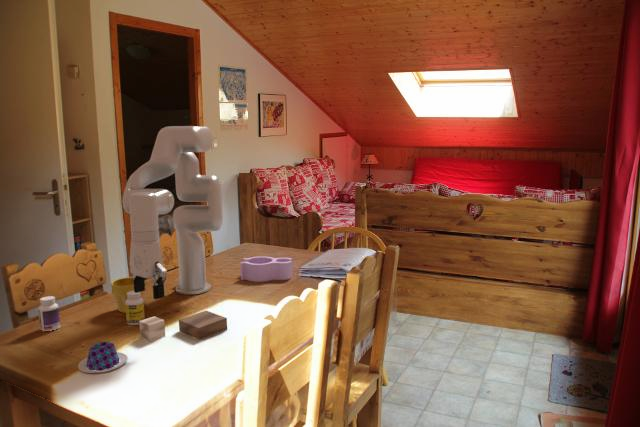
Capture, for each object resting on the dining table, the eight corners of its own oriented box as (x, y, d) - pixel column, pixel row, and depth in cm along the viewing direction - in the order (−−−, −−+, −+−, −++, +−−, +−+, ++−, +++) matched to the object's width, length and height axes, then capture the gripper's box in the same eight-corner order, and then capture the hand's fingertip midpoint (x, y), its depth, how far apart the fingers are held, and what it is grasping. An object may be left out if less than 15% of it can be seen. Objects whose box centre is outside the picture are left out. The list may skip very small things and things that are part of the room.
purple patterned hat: (101, 351, 145) (99, 333, 144) (137, 357, 141) (136, 339, 140) (67, 371, 134) (65, 352, 133) (105, 378, 130) (103, 358, 129)
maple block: (140, 337, 154) (139, 321, 153) (155, 332, 158) (154, 316, 157) (150, 341, 151) (149, 325, 150) (165, 336, 155) (164, 320, 154)
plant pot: (151, 308, 177) (149, 280, 175) (122, 317, 170) (120, 288, 168) (136, 301, 184) (134, 274, 182) (107, 309, 177) (105, 281, 175)
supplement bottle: (128, 326, 162) (125, 296, 160) (125, 321, 167) (123, 291, 165) (146, 323, 164) (144, 293, 163) (143, 317, 169) (141, 288, 167)
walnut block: (179, 332, 158) (178, 319, 157) (206, 322, 165) (206, 310, 165) (199, 341, 152) (199, 328, 151) (227, 330, 159) (226, 318, 158)
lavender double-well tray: (293, 272, 217) (293, 256, 216) (291, 281, 205) (290, 264, 204) (244, 272, 218) (244, 256, 217) (239, 282, 205) (239, 264, 204)
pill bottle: (64, 326, 163) (61, 296, 161) (50, 333, 158) (47, 301, 156) (50, 324, 165) (47, 294, 163) (36, 330, 160) (33, 300, 158)
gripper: (116, 234, 152) (121, 292, 154) (151, 242, 141) (155, 304, 143) (140, 230, 157) (144, 286, 160) (175, 237, 146) (178, 297, 149)
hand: (149, 294), depth 152 cm, fingers open, 9 cm apart
